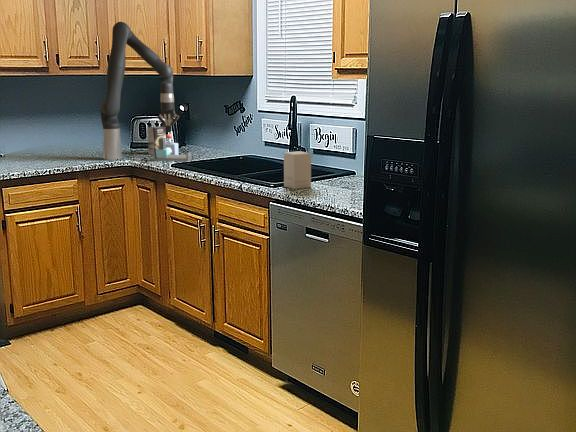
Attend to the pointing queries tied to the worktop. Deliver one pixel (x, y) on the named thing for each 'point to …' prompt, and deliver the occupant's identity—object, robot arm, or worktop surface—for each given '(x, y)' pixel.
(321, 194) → the worktop surface
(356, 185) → the worktop surface
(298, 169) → the supplement box
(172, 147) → the gauge box
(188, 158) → the rail
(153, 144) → the coffee box
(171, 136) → the plunger
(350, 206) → the worktop surface
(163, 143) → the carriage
